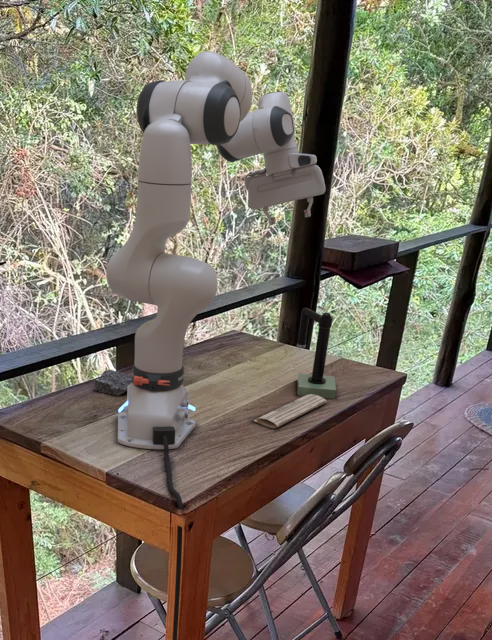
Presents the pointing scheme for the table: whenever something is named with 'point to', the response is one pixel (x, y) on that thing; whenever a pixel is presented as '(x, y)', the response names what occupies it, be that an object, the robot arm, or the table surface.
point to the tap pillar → (320, 356)
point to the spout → (323, 321)
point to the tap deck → (316, 386)
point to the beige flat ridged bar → (291, 411)
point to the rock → (113, 382)
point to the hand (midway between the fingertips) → (290, 220)
